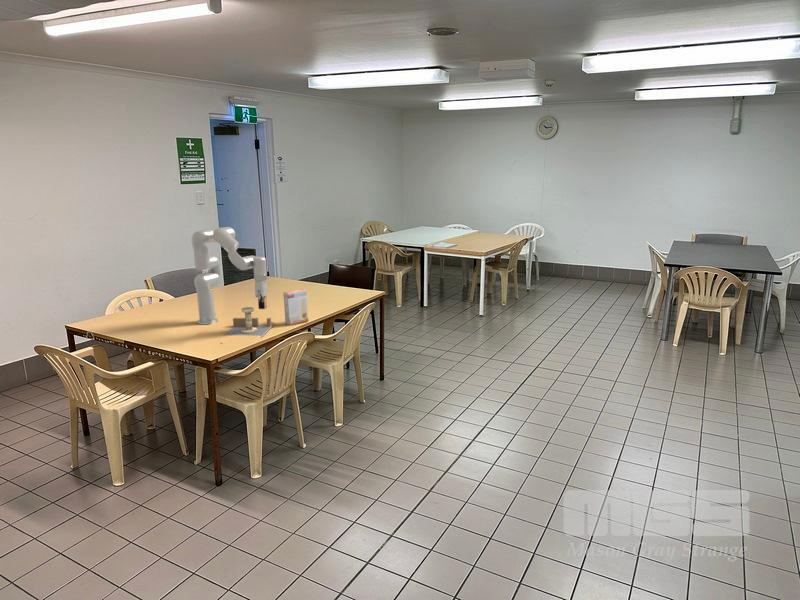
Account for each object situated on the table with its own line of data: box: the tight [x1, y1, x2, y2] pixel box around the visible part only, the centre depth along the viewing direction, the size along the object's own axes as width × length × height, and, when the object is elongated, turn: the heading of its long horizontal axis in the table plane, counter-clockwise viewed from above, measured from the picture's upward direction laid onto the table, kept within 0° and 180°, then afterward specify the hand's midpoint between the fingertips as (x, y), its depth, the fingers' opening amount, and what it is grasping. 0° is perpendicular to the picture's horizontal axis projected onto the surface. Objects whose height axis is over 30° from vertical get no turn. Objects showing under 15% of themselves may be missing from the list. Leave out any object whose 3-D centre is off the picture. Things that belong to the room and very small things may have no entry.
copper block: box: [257, 295, 268, 310], centre depth 325 cm, size 4×4×7 cm
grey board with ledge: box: [223, 317, 273, 339], centre depth 324 cm, size 20×23×6 cm
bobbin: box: [241, 306, 257, 334], centre depth 321 cm, size 9×9×14 cm
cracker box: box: [282, 288, 309, 326], centre depth 342 cm, size 14×6×21 cm, turn 131°
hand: (262, 307), depth 326 cm, fingers closed on copper block, 4 cm apart
